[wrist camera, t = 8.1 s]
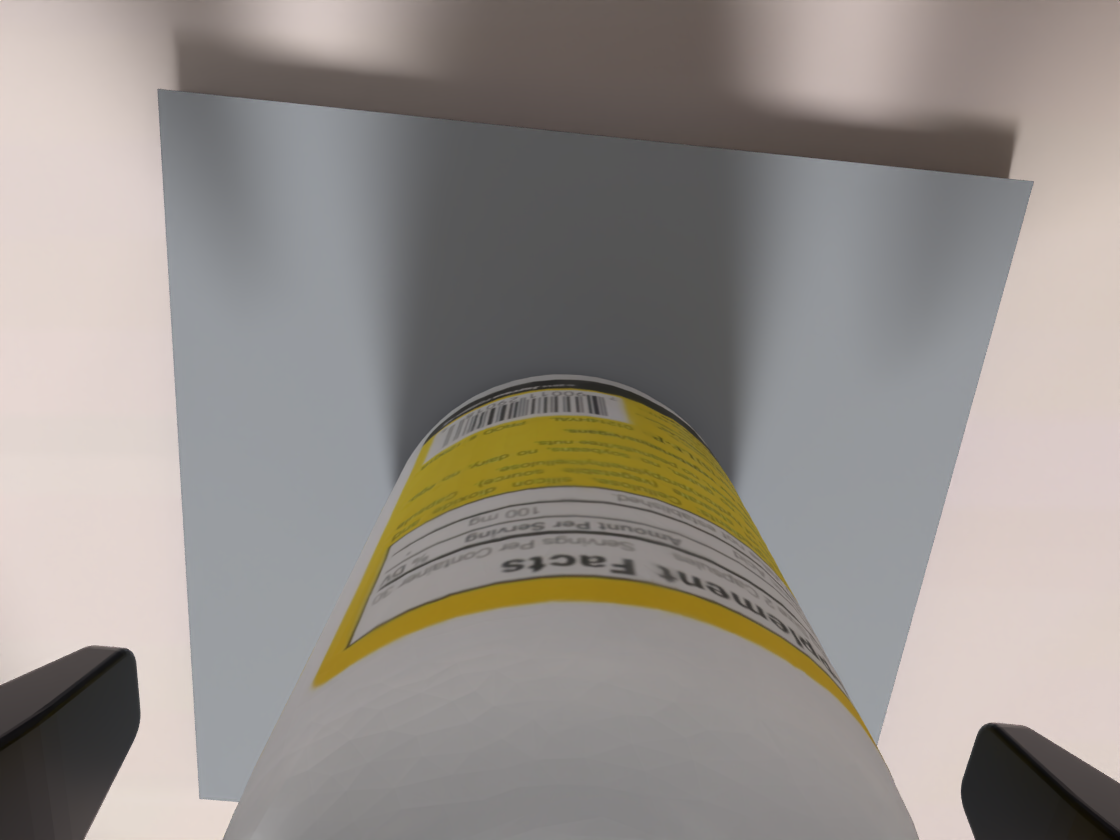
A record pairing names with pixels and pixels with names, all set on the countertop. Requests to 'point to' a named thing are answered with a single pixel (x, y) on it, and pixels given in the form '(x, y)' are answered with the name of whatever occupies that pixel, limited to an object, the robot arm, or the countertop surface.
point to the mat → (552, 353)
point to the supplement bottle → (568, 652)
